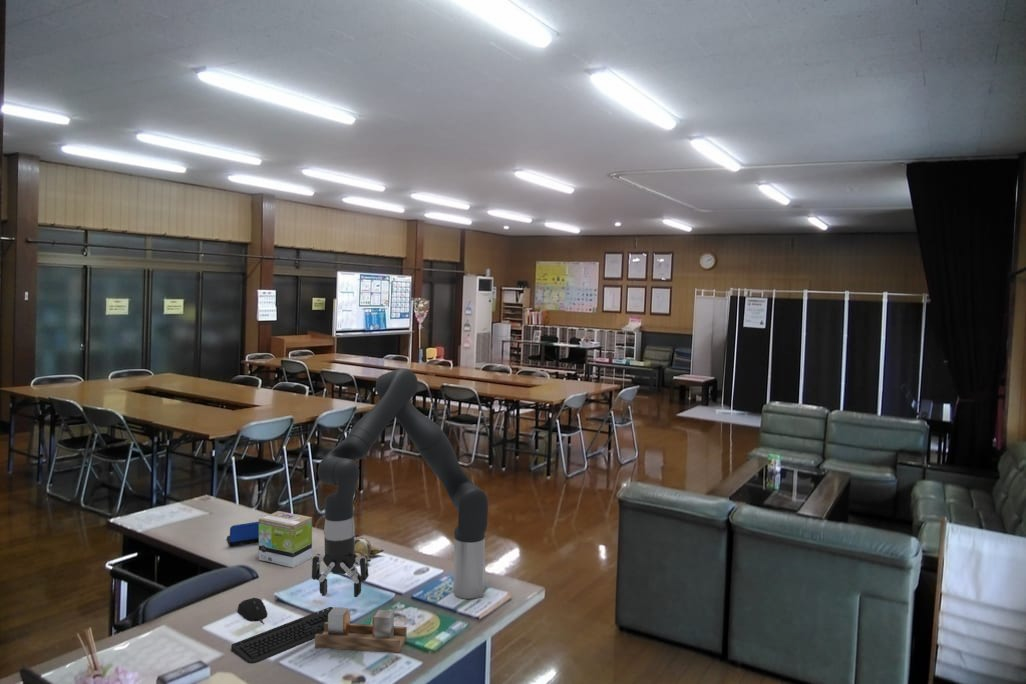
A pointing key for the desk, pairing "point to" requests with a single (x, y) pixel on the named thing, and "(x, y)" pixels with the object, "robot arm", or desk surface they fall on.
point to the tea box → (285, 538)
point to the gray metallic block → (339, 621)
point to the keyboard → (281, 637)
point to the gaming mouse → (252, 609)
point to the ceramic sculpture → (364, 548)
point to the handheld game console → (243, 534)
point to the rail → (367, 635)
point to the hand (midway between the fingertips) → (340, 595)
